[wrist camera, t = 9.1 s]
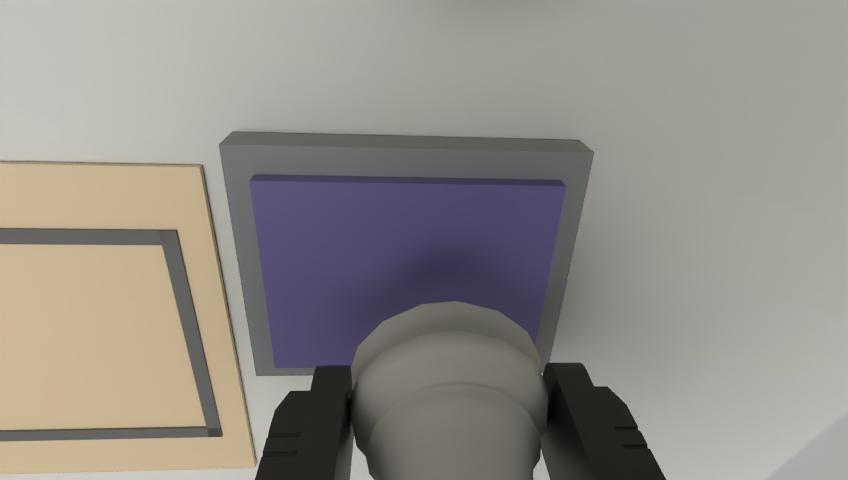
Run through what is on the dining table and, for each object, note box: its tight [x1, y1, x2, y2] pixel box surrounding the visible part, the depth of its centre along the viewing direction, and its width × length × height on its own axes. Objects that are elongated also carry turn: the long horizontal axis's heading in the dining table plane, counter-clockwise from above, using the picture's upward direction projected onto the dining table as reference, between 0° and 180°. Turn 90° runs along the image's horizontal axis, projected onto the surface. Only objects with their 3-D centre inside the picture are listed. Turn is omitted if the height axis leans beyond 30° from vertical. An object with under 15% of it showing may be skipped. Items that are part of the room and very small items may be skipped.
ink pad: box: [219, 132, 594, 376], centre depth 15 cm, size 10×8×2 cm
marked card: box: [0, 161, 256, 474], centre depth 16 cm, size 11×13×1 cm
